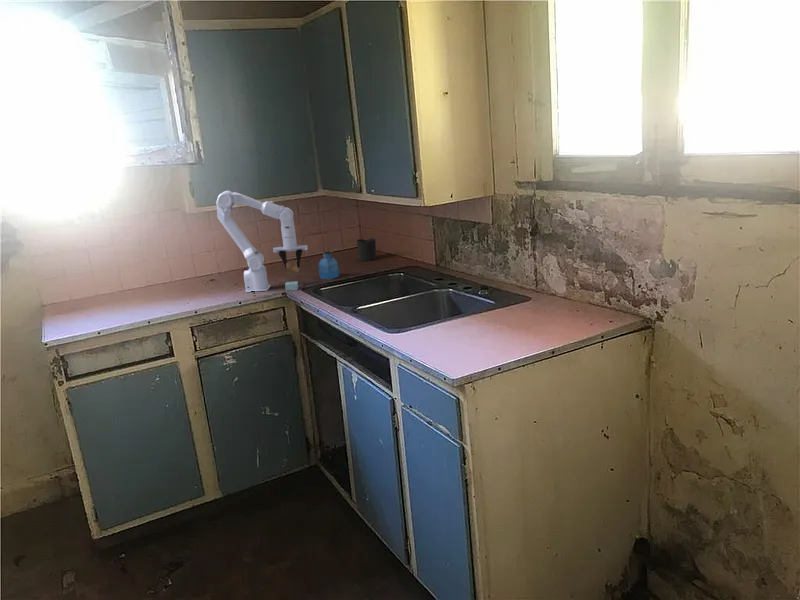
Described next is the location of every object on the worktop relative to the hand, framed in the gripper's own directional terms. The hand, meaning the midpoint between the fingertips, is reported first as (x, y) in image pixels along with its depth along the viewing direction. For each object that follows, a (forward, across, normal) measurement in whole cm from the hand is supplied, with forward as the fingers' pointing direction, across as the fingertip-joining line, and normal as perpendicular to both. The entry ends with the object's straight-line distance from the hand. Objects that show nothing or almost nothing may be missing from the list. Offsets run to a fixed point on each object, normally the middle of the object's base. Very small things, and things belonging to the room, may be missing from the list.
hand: (292, 267), depth 282 cm
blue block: (+8, 0, +6) cm, 10 cm away
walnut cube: (+2, 0, 0) cm, 2 cm away
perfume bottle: (+8, -14, -12) cm, 20 cm away
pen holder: (+8, -30, -44) cm, 54 cm away
